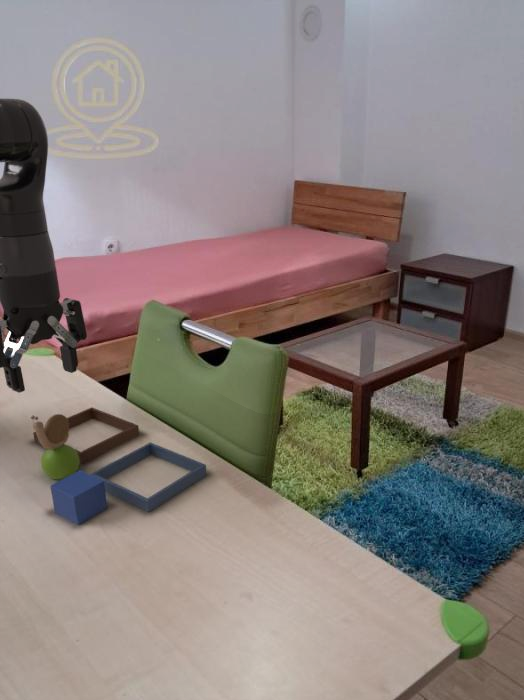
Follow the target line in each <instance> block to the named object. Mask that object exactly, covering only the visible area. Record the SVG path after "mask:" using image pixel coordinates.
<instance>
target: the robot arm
mask: <svg viewBox="0 0 524 700" xmlns="http://www.w3.org/2000/svg"><path fill="white" fill-rule="evenodd" d="M48 154H49V136H48V132H47V127H46V124H45V122H44V120H43V118H42V116H41V114H40V113H39V111H38V110H37V109H36V107H35V106H34V105H33V104H31V103H30V102H29V101H26V100H25V99H20V98H0V163H4V164H3V172H2V176H1V178H0V305H1V307H2V310H3V312H2V313H3V315H2V318H0V369H3V373H4V378H5V381H6V382H5V383H6V386H7V387H8V388H9V389H11V390H12V391H13V392H16V393H19V394H20V393H23V392H25V391H26V388H25V383H24V377H23V371H22V366H20V365H19V364H20V362H21V360H22V358H23V355H24V354H26V353H27V352H28V350H29V347H30V345H35V344H38V343H40V342H41V341H48V340H52V339H53V338H54V339H55V340H56V341H57V342H58V343H59V344H60V346H59V351H60V357H61V363H62V368H63V370H64V371H65V372H68V373H70V374H73V373H75V372H77V371H78V369H77V368H78V366H79V360H78V351H77V346H78V343H80V342H81V341H85V340H86V339H87V337H88V334H87V333H88V332H87V329H86V324H85V318H84V314H83V309H82V303H81V301H80V300H77V299H73V298H69V297H64V298H63V300H62V302H60V299H61V292H60V286H59V279H58V272H57V266H56V259H55V254H54V253H55V252H54V248H53V244H52V240H51V237H50V233H49V228H48V227H49V226H48V222H47V215H46V208H45V203H44V191H45V184H46V174H47V165H48ZM63 315H64V316H65V321H66V325H67V328H66V327H65V326H63V324H62V323H60V322H61V319H62V317H63ZM5 330H7V331H8V333H7V336H6V337H5V340H4V341H3V336H5ZM17 340H19V341H18V343H17Z"/></svg>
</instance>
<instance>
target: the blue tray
mask: <svg viewBox="0 0 524 700" xmlns="http://www.w3.org/2000/svg"><path fill="white" fill-rule="evenodd" d="M150 456H153V457H156V458H159V459H161V460H163V461H166V462H168V463H170V464H173V465H175V466H177V467H180V468H182V469H185V470H187V471H190V472H187V473H186V474H185V475H183V476H181V477H179V478H178V479H177V480H175V481H173V482H172V483H170V484H168V485H167V486H165V487H164V488H161V489H160V490H159V491H157V492H155V493H154V494H152V495H150V496H149V497H145V496H143V495H141V494H140V493H137V492H134V491H133V490H132V489H131V490H130V489H128V488H126V487H124V486H122V485H120V484H118V483H116V482H113V481H111V480H109V478H111V477H113V476H115V475H117V474H119V473H120V472H122V471H124V470H125V469H127V468H129V467H131V466H133V465H134V464H135V465H136V463H138V462H141V461H142V460H143V459H145V458H148V457H150ZM90 475H92V476H94V477H96V478H98V479H101V480H103V481H104V486H105V493H108V494H109V495H111V496H114V497H115V498H118V499H120V500H122V501H124V502H126V503H128V504H130V505H133V506H135V507H137V508H139V509H140V510H143V511H145V512H147V513H150V512H152V511H153V510H154V509H156V508H158V507H159V506H161V505H163V504H164V503H165V502H167V501H168V500H170V499H172V498H174V497H175V496H176V495H178V494H179V493H181V492H183V491H184V490H185V489H187V488H189V487H191V486H192V485H194V484H195V483H197V482H199V481H200V480H202V479H203V478H205V477H206V476H207V464H205V463H202V462H200V461H198V460H195V459H193V458H190V457H188V456H186V455H183V454H180V453H178V452H175V451H173V450H170V449H168V448H166V447H163V446H161V445H158V444H156V443H153V442H148V443H147V444H144V445H142V446H140V447H138V448H137V449H134V450H133V451H131V452H129V453H127V454H125V455H124V456H121V457H120V458H118V459H116V460H114V461H112V462H110V463H108V464H106V465H104V466H103V467H101V468H99V469H97V470H94V471H93V472H92V473H90Z"/></svg>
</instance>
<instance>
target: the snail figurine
mask: <svg viewBox="0 0 524 700" xmlns="http://www.w3.org/2000/svg"><path fill="white" fill-rule="evenodd" d="M67 418H68V417H66V415H64V414H60V413H57V414H53V415H52V416H50V417H49V418H48V419H47V420H46V422H45V424H44V423H43V422H42V421H40V420H39V419H40V418H39V416H37V415H36V416H35V415H31V416H30V419H31V420H32V422H33V423H32V424H33V425H32V426H33V430H34V432H36V434H37V437H38V439H39V441H40V443H41V445H42V447H43V448H44V449H45V451H44V452H43V454H42V456H41V459H40V465H41V469H42V471H43V473H44V474H45V475H46V476H47V477H48V478H51V479H53V480H57V481H60V480H62V479H64V478H66V477H68V476H70V475H72V474H74V473H76V472H78V469H79V466H80V463H79V456H78V453H77V452H76V450H77V449H76V450H75V448H74V447H73V446H72V445H69V444H66V443H67V442H68V439H69V436H70V433H69V430H70V429H69V422H68V419H67ZM34 420H35V421H36V422H35V421H34ZM38 420H39V421H38ZM43 428H44V429H43ZM41 445H40V446H41Z"/></svg>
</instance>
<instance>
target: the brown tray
mask: <svg viewBox="0 0 524 700" xmlns="http://www.w3.org/2000/svg"><path fill="white" fill-rule="evenodd" d="M66 418H67V419H68V422H69V430H70V429H72V428H74V427H77V426H79V425H81V424H83V423H85V422H88V421H90V420H92V419H94V420H96V421H98V422H101V423H103V424H105V425H108V426H111V427H114V428H115V429H119V430H120V432H117V433H116V434H114V435H112V436H110V437H108V438H106V439H104V440H102V441H99V442H97V443H96V444H94V445H92V446H90V447H88V448H85V449H83V450H82V451H80V450H78V449H75V448H74V449H75V450H76V452H77V453H78V456H79V465H80V464H81V465H83V464H85V463H87V462H90V461H91V460H93V459H95V458H97V457H99V456H101V455H103V454H105V453H107V452H109V451H111V450H113V449H115V448H117V447H118V446H121V445H123V444H125V443H126V442H129V441H131V440H133V439H134V438H136V437H138V436H140V430H139V429H140V428H139V424H137V423H133V422H131V421H129V420H126V419H123V418H121V417H119V416H115V415H113V414H110V413H108V412H105V411H102V410H100V409H98V408H95V407H92V406H91V407H88V408H86V409H84V410H82V411H80V412H78V413H75V414H73V415H71V416H68V417H66ZM43 429H44V428H43ZM32 434H33V439H34V443H35V444H38V445H39V446H42V445H41V443H40V441H39V439H38V437H37V434H36V431H34V432H32ZM42 447H43V446H42Z"/></svg>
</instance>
